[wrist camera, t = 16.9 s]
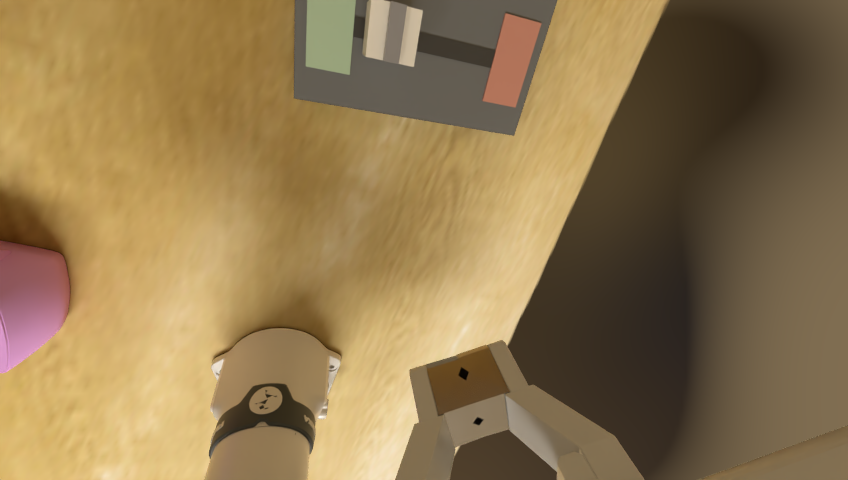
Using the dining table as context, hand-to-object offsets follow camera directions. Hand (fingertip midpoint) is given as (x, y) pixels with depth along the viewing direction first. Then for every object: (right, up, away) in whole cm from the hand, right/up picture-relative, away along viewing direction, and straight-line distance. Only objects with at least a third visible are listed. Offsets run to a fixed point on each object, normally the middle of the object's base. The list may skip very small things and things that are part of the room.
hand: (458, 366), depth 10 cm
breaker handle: (-5, +23, +20) cm, 31 cm away
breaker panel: (-1, +24, +24) cm, 35 cm away
